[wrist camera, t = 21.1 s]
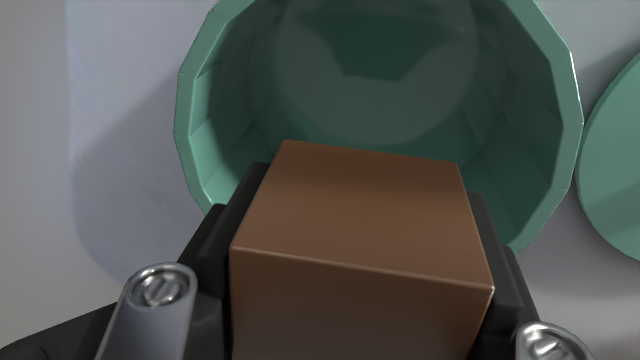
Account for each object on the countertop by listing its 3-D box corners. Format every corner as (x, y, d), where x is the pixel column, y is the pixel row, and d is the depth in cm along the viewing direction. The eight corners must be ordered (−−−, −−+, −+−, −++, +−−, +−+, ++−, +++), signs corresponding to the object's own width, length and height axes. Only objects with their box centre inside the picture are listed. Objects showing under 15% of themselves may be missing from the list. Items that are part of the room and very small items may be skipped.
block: (282, 137, 11) (226, 246, 7) (457, 160, 10) (497, 287, 7) (276, 267, 13) (232, 403, 9) (421, 290, 13) (435, 441, 9)
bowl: (234, -82, 18) (149, -89, 11) (564, -50, 17) (672, -38, 10) (239, 185, 25) (187, 275, 18) (474, 219, 24) (506, 327, 17)
